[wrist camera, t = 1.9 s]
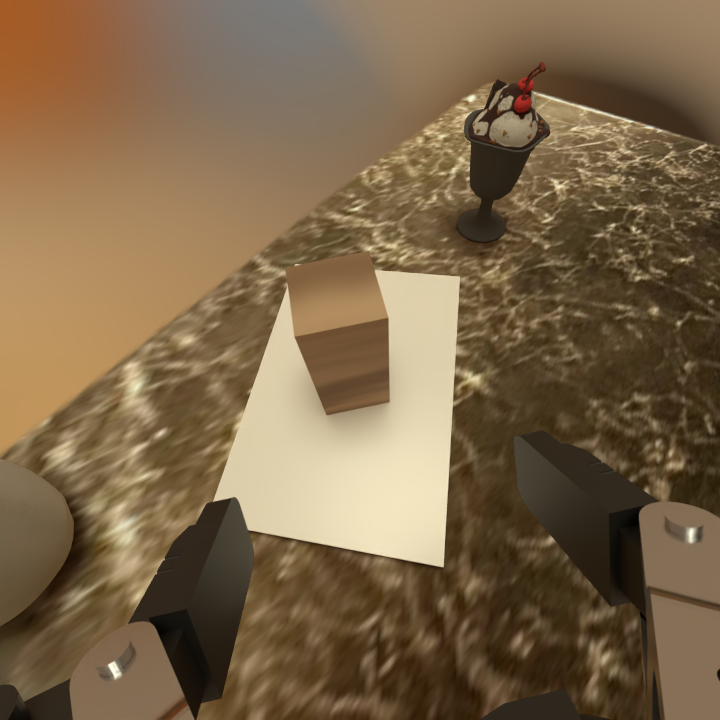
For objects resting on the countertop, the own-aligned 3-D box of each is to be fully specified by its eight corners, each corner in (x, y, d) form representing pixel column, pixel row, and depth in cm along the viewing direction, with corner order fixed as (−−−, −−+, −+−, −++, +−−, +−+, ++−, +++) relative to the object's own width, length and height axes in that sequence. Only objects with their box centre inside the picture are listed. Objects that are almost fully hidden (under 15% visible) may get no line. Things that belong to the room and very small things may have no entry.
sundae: (500, 257, 37) (559, 83, 24) (438, 235, 39) (460, 65, 26) (524, 216, 39) (589, 40, 26) (464, 198, 41) (497, 26, 29)
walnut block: (389, 402, 29) (388, 317, 20) (326, 415, 29) (294, 336, 19) (375, 348, 32) (368, 251, 22) (317, 360, 31) (285, 267, 22)
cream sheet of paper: (297, 269, 38) (295, 264, 37) (458, 282, 36) (459, 276, 35) (211, 523, 26) (206, 521, 26) (441, 567, 24) (443, 567, 23)
